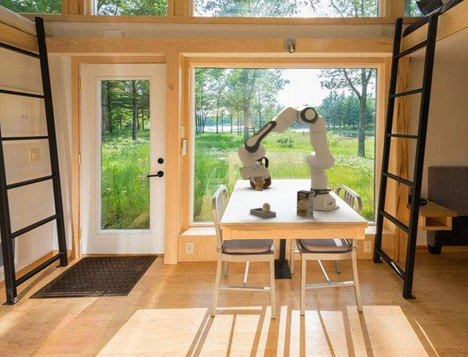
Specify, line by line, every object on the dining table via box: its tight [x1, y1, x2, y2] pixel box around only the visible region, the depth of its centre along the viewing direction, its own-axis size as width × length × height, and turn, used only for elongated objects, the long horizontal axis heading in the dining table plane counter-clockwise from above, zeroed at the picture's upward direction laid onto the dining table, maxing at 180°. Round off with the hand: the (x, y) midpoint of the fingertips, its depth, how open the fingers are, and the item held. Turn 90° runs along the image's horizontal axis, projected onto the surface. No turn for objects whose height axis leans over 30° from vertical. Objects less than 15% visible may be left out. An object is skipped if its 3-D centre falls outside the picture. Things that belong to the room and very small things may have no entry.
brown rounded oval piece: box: [255, 177, 264, 192], centre depth 231 cm, size 5×5×8 cm
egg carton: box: [249, 207, 277, 219], centre depth 230 cm, size 8×16×4 cm, turn 32°
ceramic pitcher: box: [249, 155, 272, 189], centre depth 335 cm, size 20×20×30 cm
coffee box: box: [296, 189, 314, 218], centre depth 228 cm, size 9×6×16 cm
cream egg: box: [262, 202, 271, 214], centre depth 226 cm, size 5×5×8 cm
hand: (259, 183), depth 230 cm, fingers closed on brown rounded oval piece, 5 cm apart
